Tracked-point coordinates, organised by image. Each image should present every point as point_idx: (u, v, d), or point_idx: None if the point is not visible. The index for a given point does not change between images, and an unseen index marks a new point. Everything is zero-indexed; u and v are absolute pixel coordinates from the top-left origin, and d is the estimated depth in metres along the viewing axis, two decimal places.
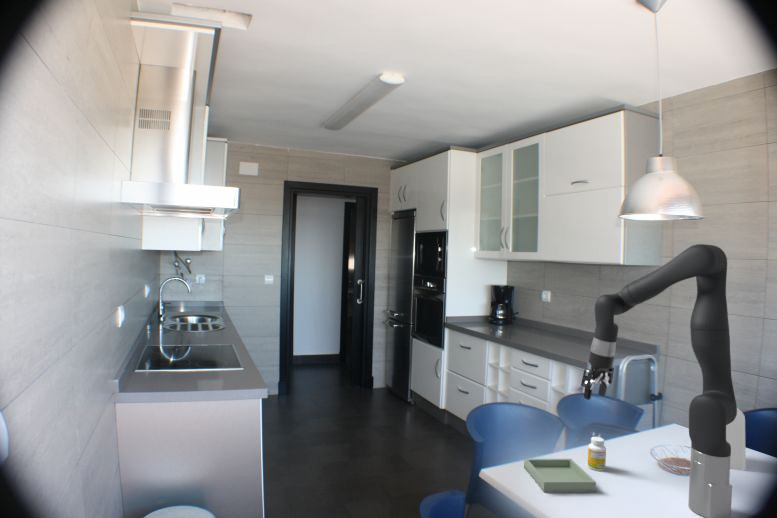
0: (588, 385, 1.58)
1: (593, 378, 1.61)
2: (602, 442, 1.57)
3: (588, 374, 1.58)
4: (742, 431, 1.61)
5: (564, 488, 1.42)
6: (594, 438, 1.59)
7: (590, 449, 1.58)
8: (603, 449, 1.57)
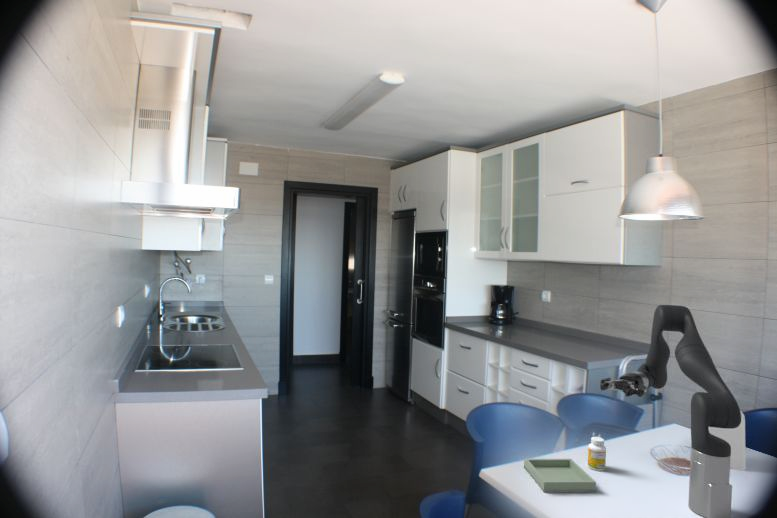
0: (602, 380, 1.74)
1: (615, 384, 1.72)
2: (602, 442, 1.57)
3: None
4: (742, 431, 1.61)
5: (564, 488, 1.42)
6: (594, 438, 1.59)
7: (590, 449, 1.58)
8: (603, 449, 1.57)
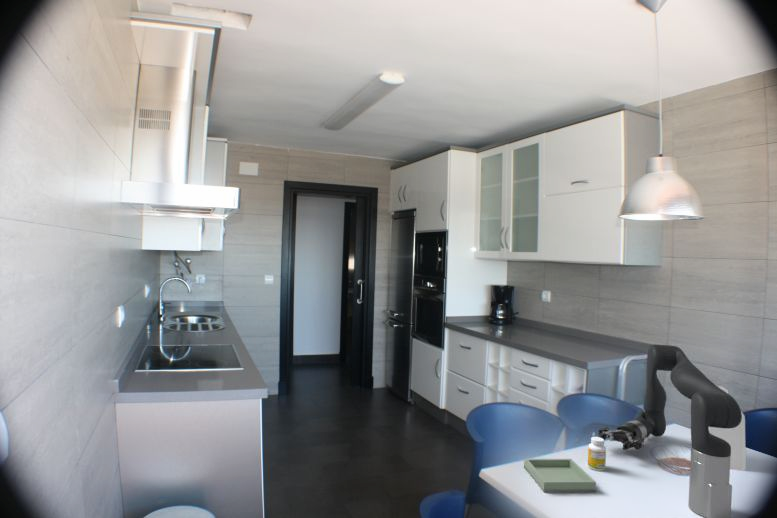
0: (600, 430, 1.74)
1: (613, 435, 1.72)
2: (602, 442, 1.57)
3: None
4: (742, 431, 1.61)
5: (564, 488, 1.42)
6: (594, 438, 1.59)
7: (590, 449, 1.58)
8: (603, 449, 1.57)
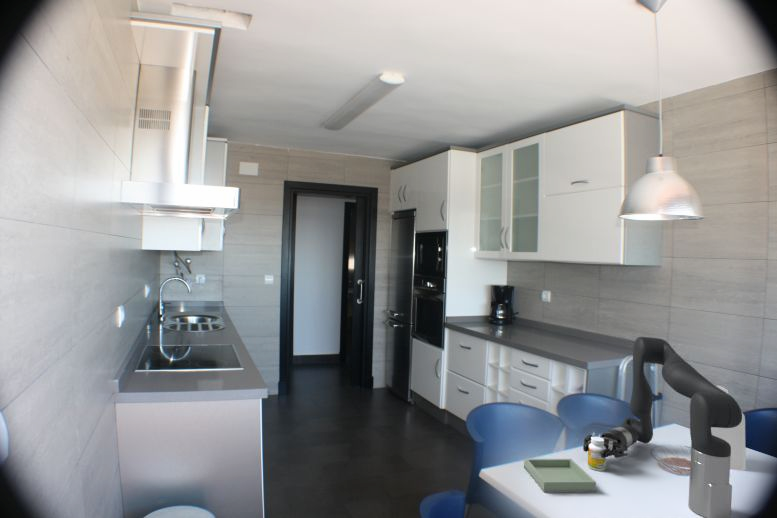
0: (586, 438, 1.65)
1: None
2: (602, 442, 1.57)
3: None
4: (742, 431, 1.61)
5: (564, 488, 1.42)
6: (594, 438, 1.59)
7: (590, 449, 1.58)
8: (603, 449, 1.57)
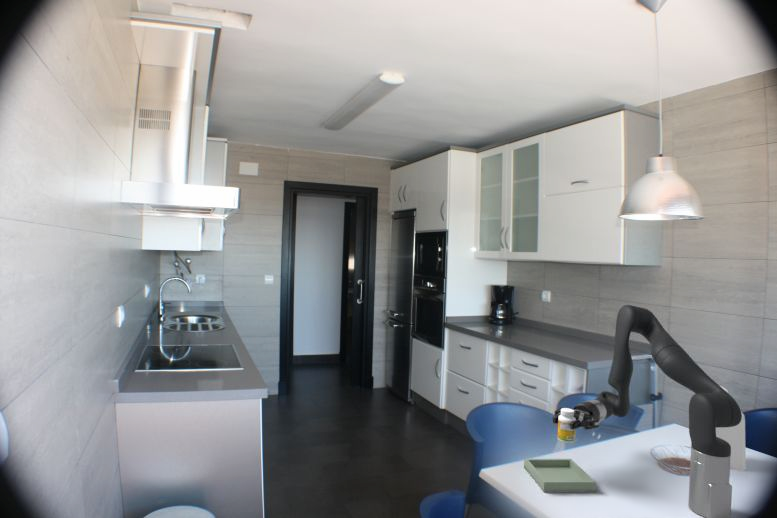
0: (556, 411, 1.57)
1: None
2: (572, 413, 1.50)
3: None
4: (742, 431, 1.61)
5: (564, 488, 1.42)
6: (564, 409, 1.52)
7: (559, 421, 1.51)
8: (573, 420, 1.49)
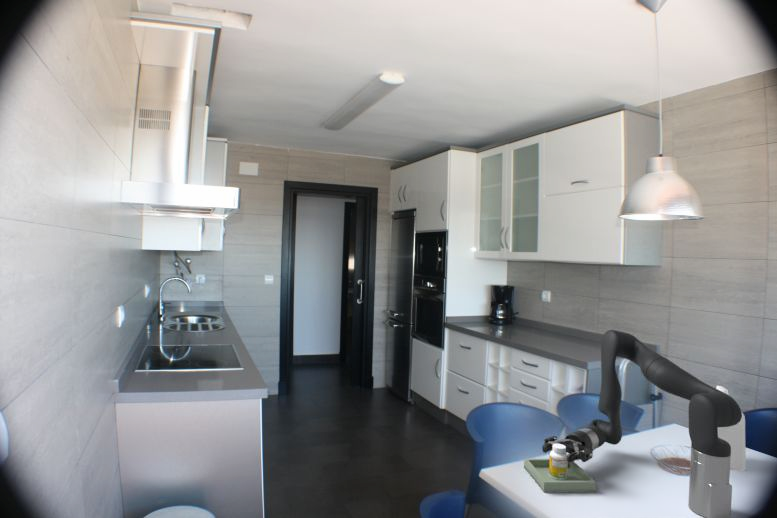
0: (546, 439, 1.57)
1: None
2: (563, 449, 1.48)
3: None
4: (742, 431, 1.61)
5: (564, 488, 1.42)
6: (555, 445, 1.50)
7: (551, 457, 1.49)
8: (564, 457, 1.47)
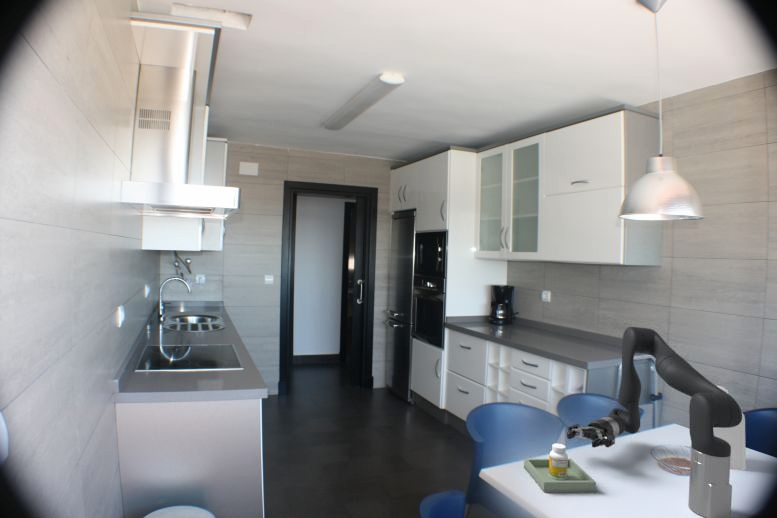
0: (570, 427, 1.66)
1: (583, 432, 1.64)
2: (563, 449, 1.48)
3: None
4: (742, 431, 1.61)
5: (564, 488, 1.42)
6: (555, 445, 1.50)
7: (551, 457, 1.49)
8: (564, 457, 1.47)
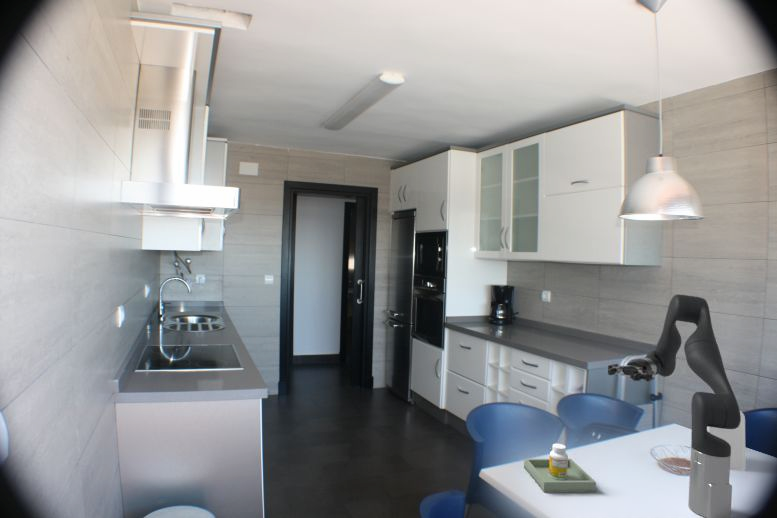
0: None
1: (623, 370, 1.71)
2: (563, 449, 1.48)
3: None
4: (742, 431, 1.61)
5: (564, 488, 1.42)
6: (555, 445, 1.50)
7: (551, 457, 1.49)
8: (564, 457, 1.47)
